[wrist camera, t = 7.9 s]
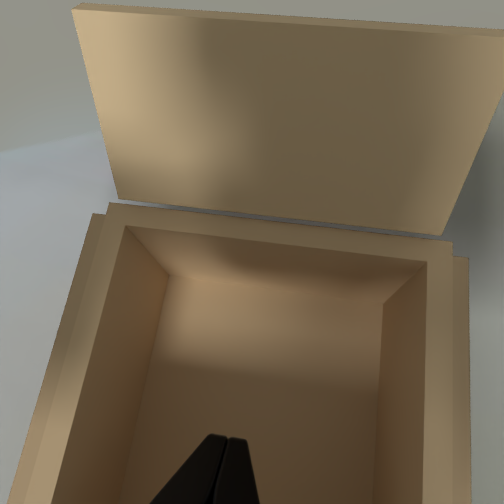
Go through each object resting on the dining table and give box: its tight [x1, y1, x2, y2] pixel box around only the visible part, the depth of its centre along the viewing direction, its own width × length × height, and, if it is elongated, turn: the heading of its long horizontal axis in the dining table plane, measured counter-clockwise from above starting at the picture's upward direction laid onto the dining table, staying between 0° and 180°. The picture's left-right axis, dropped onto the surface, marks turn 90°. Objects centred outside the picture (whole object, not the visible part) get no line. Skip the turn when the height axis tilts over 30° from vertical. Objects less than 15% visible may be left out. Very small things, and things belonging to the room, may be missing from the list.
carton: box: [7, 202, 471, 504], centre depth 16 cm, size 12×13×7 cm
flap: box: [71, 3, 504, 236], centre depth 13 cm, size 6×11×1 cm
